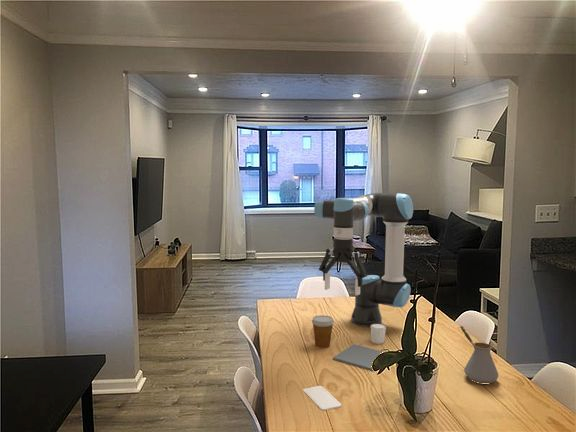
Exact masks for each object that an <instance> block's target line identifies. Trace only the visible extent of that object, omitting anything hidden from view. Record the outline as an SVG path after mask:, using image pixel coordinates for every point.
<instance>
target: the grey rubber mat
mask: <svg viewBox="0 0 576 432" xmlns="http://www.w3.org/2000/svg"><path fill="white" fill-rule="evenodd" d="M382 352H385V351H383V350H379V349H375V348H372V347H368V346H364V345H359V344H355V343H352V344H351V345H350V346H349V347H347V348H345V349H344V350H342V351H340V352H339V353H338V354H336V355H334V356H333V357H332V360H334V361H337V362H339V363H340V362H341V363H345V364H348V365H351V366H355V367H359V368H362V369H365V370H368V371H371V370H372V367H371V366H372V362H373V361H374V359H375V358H376V357H377V356H378V355H379V354H380V353H382Z"/></svg>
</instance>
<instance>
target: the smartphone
mask: <svg viewBox="0 0 576 432" xmlns="http://www.w3.org/2000/svg"><path fill="white" fill-rule="evenodd" d="M303 392H304V393H305V395H307V396H308V397H309V399H310V400H311V401H312V402H313V403H314V404H315V405H316V406H317V407H318V408H319V409H320V410H321V411H328V410H332V409H337V408H341V407H342V403H341V402H340V401H338V399H336V398H335V396H333V395H332V394H331V393H330V392H329V391H328V390H327V389H325V388H324V386H321V385H316V386H312V387H311V386H310V387H307V388H303Z"/></svg>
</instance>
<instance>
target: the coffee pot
mask: <svg viewBox="0 0 576 432" xmlns="http://www.w3.org/2000/svg"><path fill="white" fill-rule="evenodd" d="M459 328H460V329H459ZM457 329H458V330H459V331H460V330H461V331H462V333H463V334H464V337H466V338H467V340H468V341H469V343H470V344H471V345H472V347H473V348H474V350H473V352H472V354H471V356H470V357H469V359H468V361H467V362H466V365H465V367H464V369H463V371H464V374H465V375H466V377H467V378H468V379H469V380H470V379H471V380H473V381H475V382H479V383H491V384H493V383H494V382H496V381H497V380H498V378H499V377H500V376H499V372H498V370H497V367H496V364H495V362H494V359H493V357H492V354H491V351H492V349H493V345H491V344H489V343H485V342H480V341H479V342H474V341H473V340H472V338H471V336H470V334H469V333H468V332H467V331H466V329H465V327H464V326H462V325H460V326H459V327H458V328H457ZM471 380H470V381H471ZM473 381H472V382H473ZM475 382H474V383H475Z"/></svg>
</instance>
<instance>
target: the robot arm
mask: <svg viewBox="0 0 576 432" xmlns="http://www.w3.org/2000/svg"><path fill="white" fill-rule="evenodd" d="M313 211H314V216H316V217H317V218H320V219H323V220H324V219H330V220H331V219H332V220H333V237H334V238H333V242H332V243H333V244H332V245H333V246H332V247H333V249H332V248H330V247H329V248H327V249H326V250H325V255H324V256H323V259H322V261H321V262H320V263H321V264H320V266H319V268H318V271H320V272H322V276H323V277H322V281H323V282H324V290H325V291H326V290H330V288H331V286H330V285H331V272H330V270H331V269H332V268H333V266H335V264H336V263H337V262H338V263H341V262H342V263H344V264H346V263H347V265H348V266H349V268H351V270H352V272H353V273H354V275H355V276H356V278H355V283H354V285H355V286H354V287H355V289H354V291H355V292H354V297H355V300H354V301H355V302H354V303H355V304H354V308H353V311H352V313H351V317H350V318H351V323H353V324H354V325H358V326H361V327H370V325H372V324H382V323H383V317H382V314H381V311H380V308H379V307H380V305H383V306H389V307H393V308H399V309H401V308H404V307H405V306H406V305H407V304H408V302H409V299H410V295H411V291H412V289H411V288H412V287H411V285H410V284H409V283H407V278H406V277H405V275H404V263H405V262H404V259H405V229H406V228H405V227H406V225H407V224H408V223H409V220H410V219H412V217H413V214H414V204H413V200H412V199H411V196H410V195H408V194H405V193H399V192H398V193H397V192H396V193H394V192H391V193H390V192H384V193H383V192H376V193H369V194H363V195H361V194H360V195H359V196H358V197H353V198H351V197H350V198H349V197H337V198H335V199H332V200H330V199H329V200H324V199H323V200H320V199H319V200H318V201H316V202H315V204H314V206H313ZM368 216H371V217H377V218H382V222H383V223H384V224H385V252H384V253H385V254H384V255H385V258H384V275H383V276H381V278H380V276H379V275H376V274H368V273H367V272H368V271H366V267H365V265H364V262H363V260H362V258H361V252H360V251H355V252H354V250H353V247H354V246H353V245H354V240H353V237H354V222H356V221H357V222H358V221H362V220H364V219H366V218H367V217H368ZM332 255H333V258H331V257H332ZM330 259H331V260H330ZM329 260H330V261H329Z"/></svg>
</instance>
